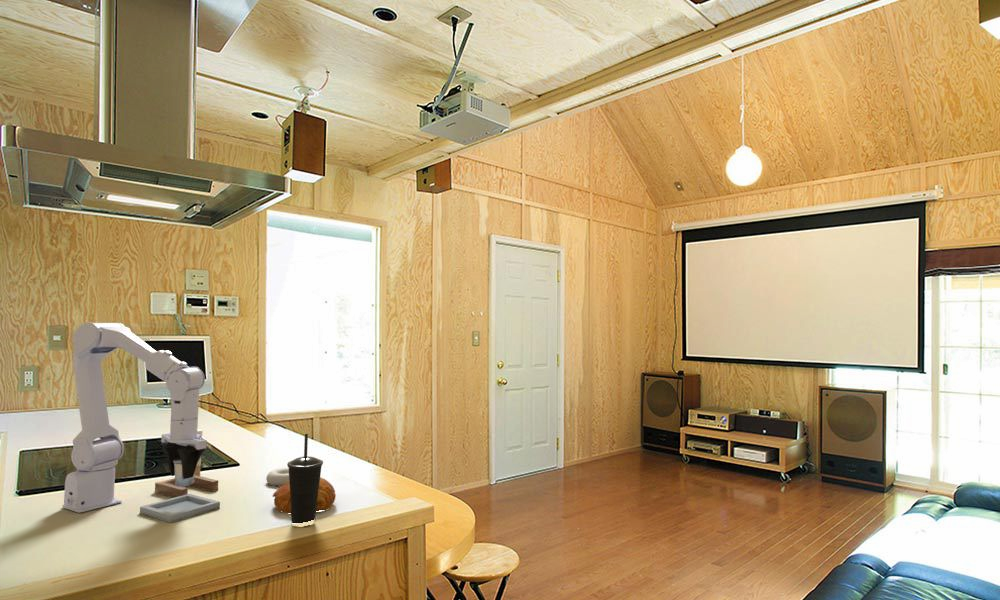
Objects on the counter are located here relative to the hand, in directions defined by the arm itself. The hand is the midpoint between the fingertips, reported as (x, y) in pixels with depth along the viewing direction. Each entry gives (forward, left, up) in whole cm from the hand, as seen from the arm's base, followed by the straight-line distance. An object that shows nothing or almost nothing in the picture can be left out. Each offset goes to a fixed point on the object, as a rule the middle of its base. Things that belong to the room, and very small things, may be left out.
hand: (182, 476), depth 136 cm
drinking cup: (+9, -31, -8) cm, 33 cm away
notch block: (+10, +13, -8) cm, 18 cm away
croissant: (+18, -21, -8) cm, 29 cm away
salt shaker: (+1, 0, -2) cm, 2 cm away
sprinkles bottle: (+19, +25, -8) cm, 32 cm away
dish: (0, 0, -8) cm, 8 cm away
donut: (+30, -1, -8) cm, 31 cm away
